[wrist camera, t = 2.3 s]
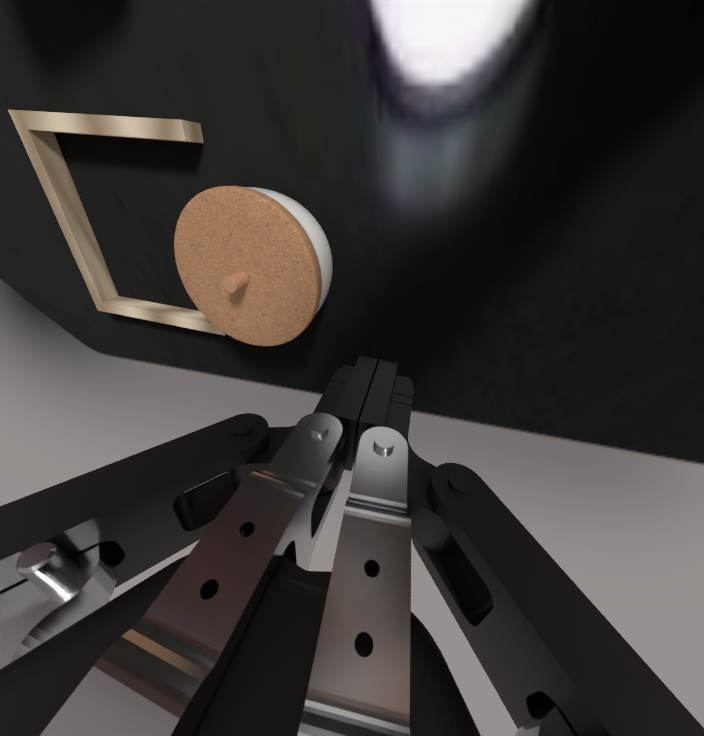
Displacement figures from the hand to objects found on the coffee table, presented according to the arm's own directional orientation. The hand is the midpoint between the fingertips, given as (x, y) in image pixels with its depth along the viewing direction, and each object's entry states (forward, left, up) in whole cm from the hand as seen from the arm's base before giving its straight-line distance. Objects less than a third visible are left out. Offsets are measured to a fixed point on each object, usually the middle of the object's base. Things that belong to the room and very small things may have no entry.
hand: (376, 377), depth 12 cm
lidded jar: (+11, 0, -16) cm, 19 cm away
